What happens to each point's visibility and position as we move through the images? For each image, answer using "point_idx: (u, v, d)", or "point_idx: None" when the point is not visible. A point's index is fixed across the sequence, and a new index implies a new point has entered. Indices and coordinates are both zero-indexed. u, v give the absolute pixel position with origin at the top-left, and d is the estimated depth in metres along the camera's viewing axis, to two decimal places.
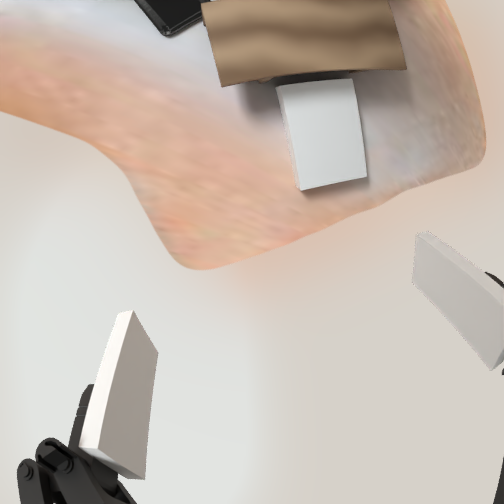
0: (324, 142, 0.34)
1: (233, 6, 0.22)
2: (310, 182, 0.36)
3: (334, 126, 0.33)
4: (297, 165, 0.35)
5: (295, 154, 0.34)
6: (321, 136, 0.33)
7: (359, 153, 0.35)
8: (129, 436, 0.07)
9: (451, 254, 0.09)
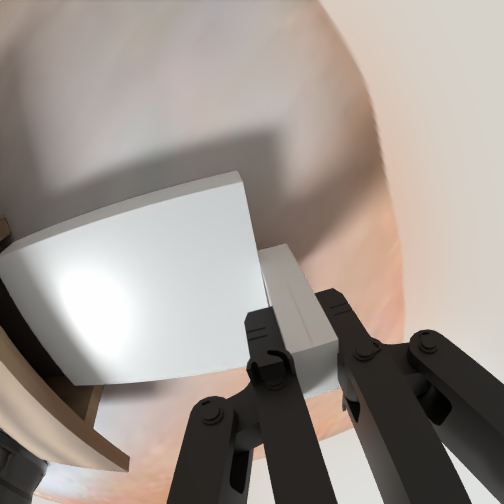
0: (151, 324, 0.13)
1: (24, 443, 0.13)
2: None
3: (105, 302, 0.12)
4: (219, 369, 0.15)
5: (194, 373, 0.15)
6: (139, 330, 0.13)
7: (160, 222, 0.11)
8: None
9: (289, 268, 0.11)
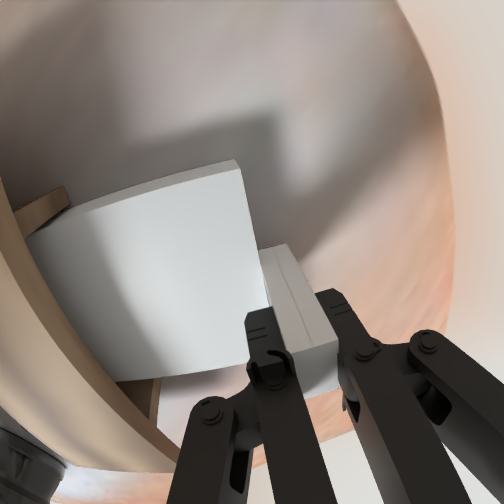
0: (146, 319, 0.13)
1: (60, 450, 0.13)
2: None
3: (99, 296, 0.12)
4: (217, 366, 0.15)
5: (192, 371, 0.15)
6: (135, 326, 0.13)
7: (155, 211, 0.10)
8: None
9: (289, 268, 0.11)
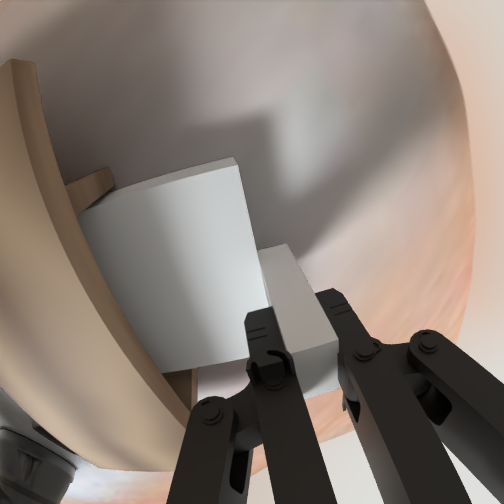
0: (147, 314, 0.13)
1: (85, 452, 0.14)
2: None
3: None
4: (217, 362, 0.15)
5: (192, 366, 0.15)
6: (135, 321, 0.13)
7: (155, 207, 0.11)
8: None
9: (289, 268, 0.11)
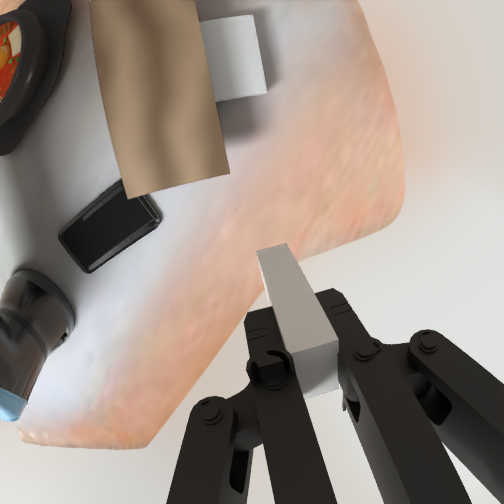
0: None
1: (130, 165, 0.26)
2: (257, 81, 0.26)
3: None
4: (235, 96, 0.27)
5: (221, 98, 0.27)
6: None
7: (222, 24, 0.23)
8: None
9: (289, 268, 0.11)
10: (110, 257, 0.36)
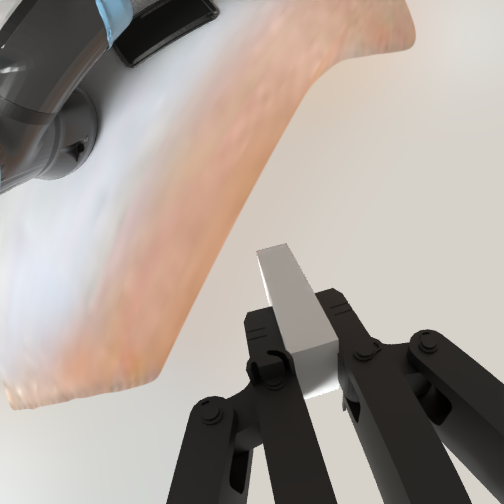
0: None
1: None
2: None
3: None
4: None
5: None
6: None
7: None
8: None
9: (289, 268, 0.11)
10: (161, 46, 0.30)
